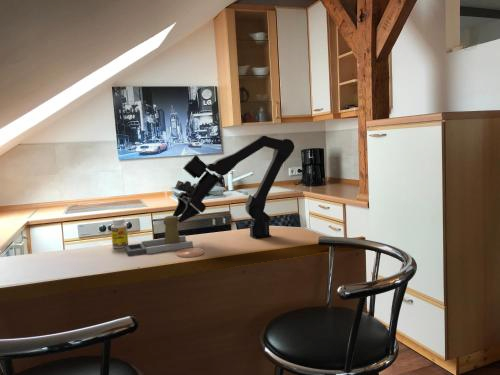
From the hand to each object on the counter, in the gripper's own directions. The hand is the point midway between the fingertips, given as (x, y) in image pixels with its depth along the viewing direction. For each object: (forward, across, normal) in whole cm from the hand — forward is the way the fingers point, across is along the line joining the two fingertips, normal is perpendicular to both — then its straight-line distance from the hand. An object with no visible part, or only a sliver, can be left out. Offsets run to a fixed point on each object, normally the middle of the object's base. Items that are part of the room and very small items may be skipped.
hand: (175, 219), depth 149 cm
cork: (+8, 0, +6) cm, 10 cm away
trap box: (+17, 0, -4) cm, 18 cm away
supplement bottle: (+20, -10, -6) cm, 23 cm away
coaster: (+6, +13, +8) cm, 16 cm away
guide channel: (+9, 0, +4) cm, 10 cm away
